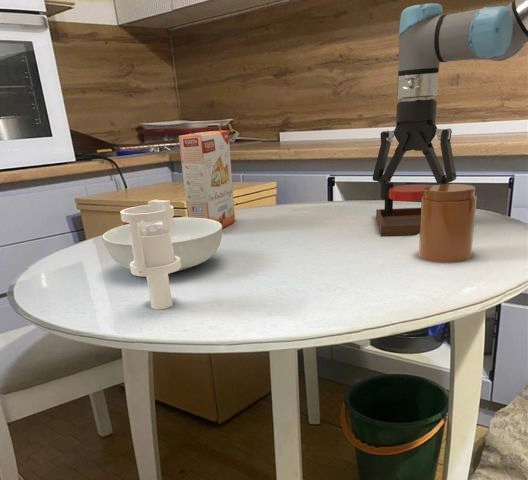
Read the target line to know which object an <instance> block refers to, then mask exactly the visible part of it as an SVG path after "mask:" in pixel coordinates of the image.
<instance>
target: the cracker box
mask: <svg viewBox="0 0 528 480" xmlns="http://www.w3.org/2000/svg"><path fill="white" fill-rule="evenodd" d="M229 134H230V132H229V130H213V131H211V130H210V131H201V132H195V133H188V134H181V135H178V142H179V143H178V144H179V153H180V161H181V167H182V168H181V170H182V177H183V178H182V179H183V188H184V196H185V197H184V198H185V205H186V215H187V217H188V218H205V219H211V220H215V221H217V222H219V223H221V225H222V229H224V228H225V227H227V226H229V225H231V224H234V223H235V222H236V215H235V205H234V204H235V202H234V201H235V200H234V188H233V176H232V175H233V174H232V162H231V161H232V160H231V147H230V146H231V145H230V135H229Z"/></svg>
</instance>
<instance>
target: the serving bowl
mask: <svg viewBox="0 0 528 480" xmlns="http://www.w3.org/2000/svg"><path fill="white" fill-rule="evenodd" d="M172 220H173V227H172V228H170V235H171V242H172V245H173V250H174V255H175V256H178V257H180V261H181V268H180V269H179V270H177V271H175V272H174V273H177V272H182V271H184V270H187V269H190V268H194V267H195V266H198V265H201V264H202V263H204V262H206V261H208V260H209V259H211V258H212V256H214V254H215V253H216V252H217V251H218V249H219V247H220V245H221V242H222V237H223V228H222V225H221V223H219V222H217V221H215V220H211V219H205V218H188V216H185V217H172ZM154 223H155V221H154V222H145V221H143V222H141V223H139V226H141V225H145V226H150V228H151V231H155V230H156V229H154V228H152V226H151V224H154ZM128 225H130V224H127V225H124V224H123V225H119V226H116V227H114V228H113V227H112V228H111V229H109V230H107V231H106V232H104V233H103V234H102V241H103V245H104V247H105V249H106V251H107V253H108V254H109V256H110V257H111V258H112V259H113V260H114V261H115V262H116V263H117V264H118V265H120V266H121V267H124V268H126V269H128V270H130V263H131V262H132V261H134V255H133V249H132V243H131V238H130V232H129V230H128V228H129V226H128Z"/></svg>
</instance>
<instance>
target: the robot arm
mask: <svg viewBox="0 0 528 480" xmlns="http://www.w3.org/2000/svg"><path fill="white" fill-rule="evenodd" d="M443 10H444V8H443V6H442V4H440V3H437V2H436V3H434V2H433V3H423V4H415V5H411V6H408V7H406V8H403V10H402V12H401V14H400V19H399V20H400V21H399V29H398V35H397V38H398V72H397V89H396V90H397V92H396V98H397V99H398V100H399V102H397V104H396V112H395V113H396V118H395V123H396V124H395V128H394V130H384V131H381V132H380V136H379V137H380V145H379V146H380V147H379V149H378V154H377V158H376V162H375V166H374V170H373V174H372V181H374V182H377V183H379V184H380V199H381V200H384V209H385V210H384V216H389V215H391V214H393V209H394V200H392V199H389V197H388V193H389V188H391V187H394V182H392V178H393V176H394V174H395V173H396V170H397V169H398V167H399V165H400V163H401V161H402V160H403V157H404V155H405V154H406V153H407V152H410V151H415V152H422V155H423V156H424V157H425V159H426V161H427V164H428V166H429V169H430V170H431V173H432V175H433V177H434V179H435V181H436V184H435V185H443V184H450V183H452V182H454V181H455V180H457V173H456V165H455V160H454V154H453V149H452V144H451V143H452V142H451V139H452V134H453V130H452V128H438V127H437V124H436V120H437V108H438V107H437V105H438V102H437V99H435V97H437V96H438V90H439V71H440V63H448V62H458V61H470V60H471V61H472V60H474V61H475V60H476V61H478V60H479V61H481V60H485V61H496V62H502V61H506V60H508V59H511V58H513V57H515V56H516V55H518V54H519V53H520V52H521V51H522V49H523V48H524V47H525V45H526V44H527V43H528V0H513V1H510V3H508V4H507V5H506V6H505V5H500V6H484V7H483V8H478V9H472V10H467V11H459V12H455V13H450V14H449V13H448V14H444V11H443ZM436 136H437V139H438V141H439V143H440V151H441V156H442V162H443V167H444V170H443V167H442V165H441V163H440V161H439V158H438V156H437V154H436V152H435V147H434V145H433V143H432V141H433V139H435V137H436ZM394 138H395V139H396V141H397V142H398V144H397V146H396V148H395V150H394V153H393V155H392V157H391V158H390V161H389V163H388V165H387V160H388V157H389V152H390V149H391V145H392V142H393V140H394ZM386 165H387V167H386Z"/></svg>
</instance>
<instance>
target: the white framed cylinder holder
mask: <svg viewBox="0 0 528 480" xmlns="http://www.w3.org/2000/svg"><path fill="white" fill-rule="evenodd" d="M119 214H120V220H121V222H123V223H124V222H127V223H129V224H130V225H128V226H129V228H128V230H129V232H130V238H131V243H132V249H133V255H134V261H132V262H131V263H130V269H129V270H130V273H131V275H133V276H136V277H146V282H147V283H146V284H147V288H148V294H149V301H150V308H151V309H153V310H166V309H169V308H171V307H172V306H173V299H172V292H171V286H170V285H171V284H170V279H169V274H172V273H176V272H175V271H177V270H179V269H180V268H181V261H180V257H178V256H175V255H174V250H173V245H172V242H171V235H170V228H172V227H173V220H172V218H174V216H175V210H174V205H171V200H167V199H165V200H164V199H163V200H162V199H161V200H159V199H152V200H150V201H147V204H145V205H138V206H132V207H128V208H123V209H122V210H120V211H119ZM143 221H145V222H154V221H155V223H154V224H151V226H152V228H154V229H156V230H155V231H151V228H150V226H145V225H141V226H139V223H141V222H143Z"/></svg>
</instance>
